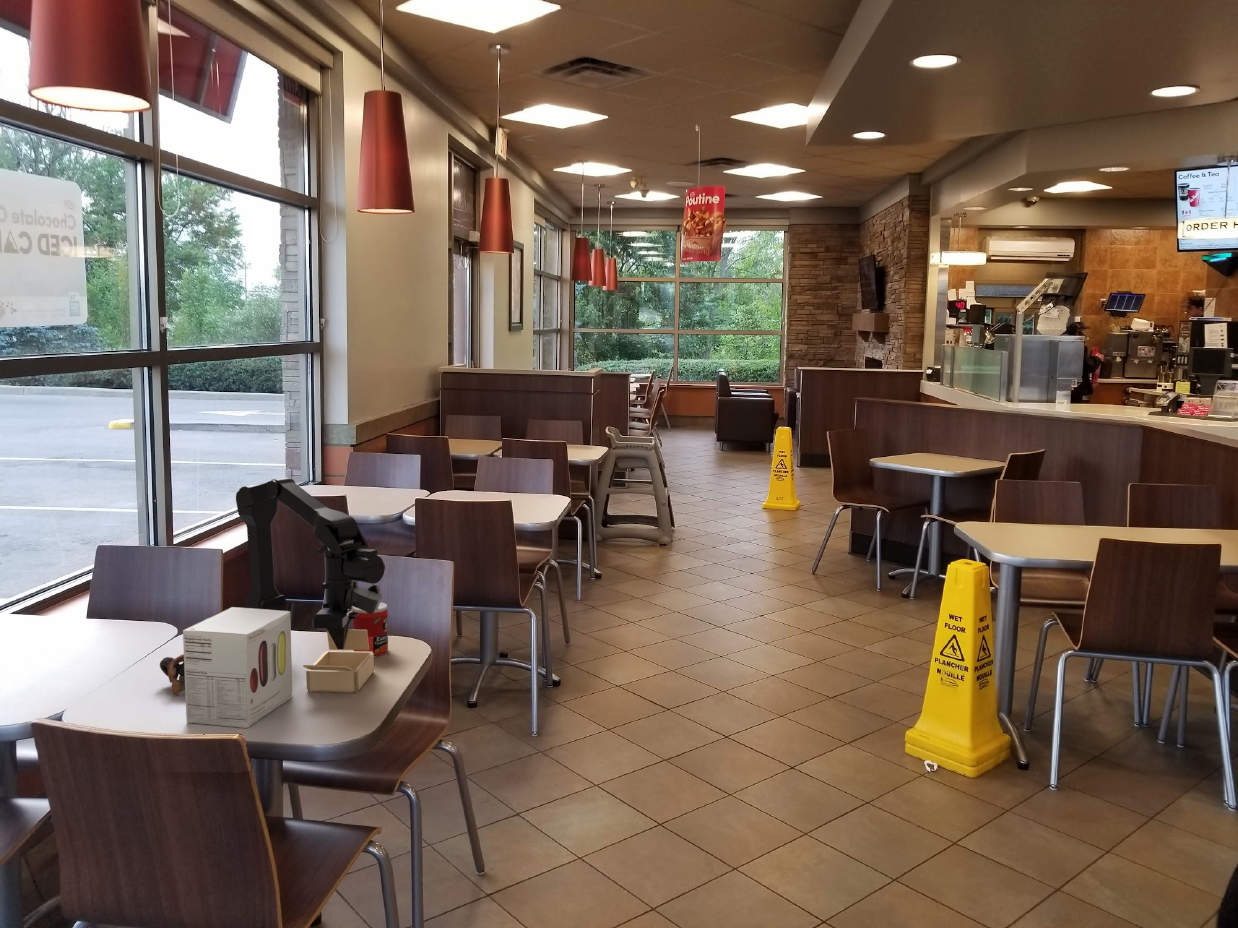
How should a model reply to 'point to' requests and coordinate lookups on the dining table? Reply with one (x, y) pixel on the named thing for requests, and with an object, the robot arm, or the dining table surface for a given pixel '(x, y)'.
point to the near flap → (327, 667)
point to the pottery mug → (174, 672)
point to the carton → (340, 672)
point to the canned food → (373, 628)
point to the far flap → (352, 640)
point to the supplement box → (237, 666)
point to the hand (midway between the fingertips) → (340, 649)
